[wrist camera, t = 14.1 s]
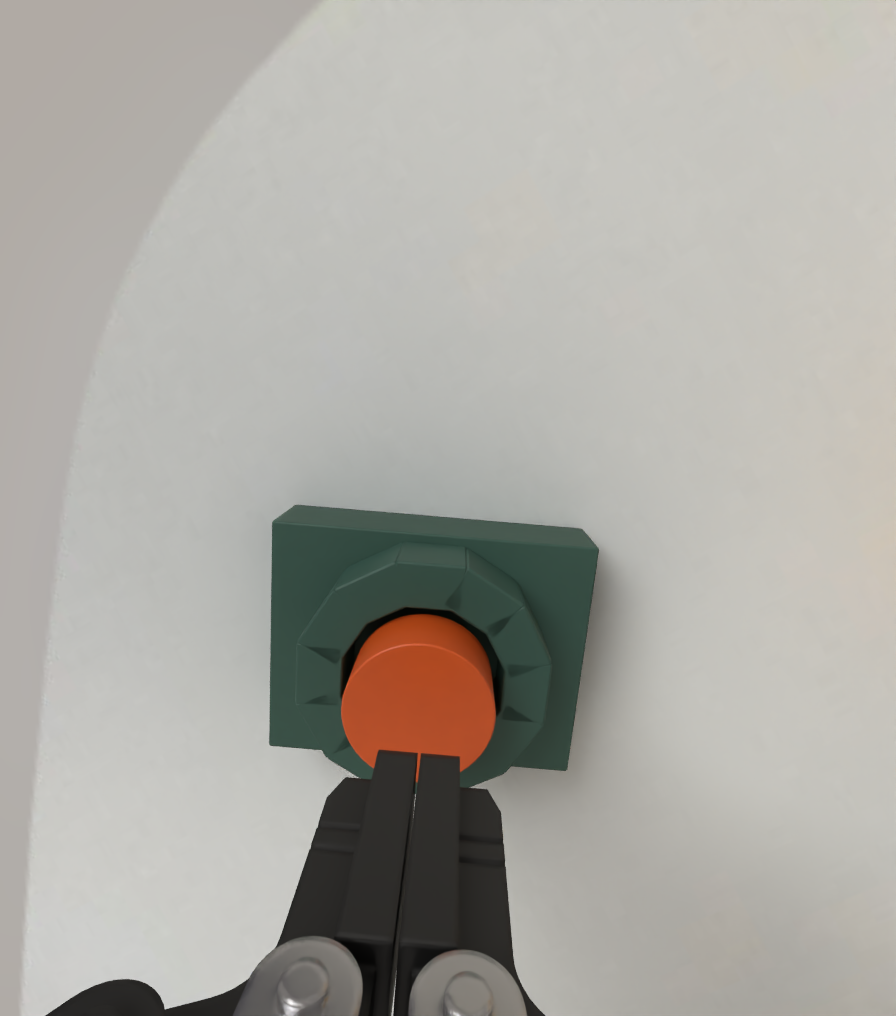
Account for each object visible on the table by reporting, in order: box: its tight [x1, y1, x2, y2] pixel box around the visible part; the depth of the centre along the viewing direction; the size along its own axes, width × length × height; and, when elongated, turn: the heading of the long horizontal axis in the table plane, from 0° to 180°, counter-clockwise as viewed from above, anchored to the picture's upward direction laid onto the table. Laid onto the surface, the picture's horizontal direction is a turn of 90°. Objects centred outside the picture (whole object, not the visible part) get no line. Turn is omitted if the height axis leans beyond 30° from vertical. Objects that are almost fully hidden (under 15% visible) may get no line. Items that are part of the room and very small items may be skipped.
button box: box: [269, 505, 599, 794], centre depth 16 cm, size 9×7×4 cm
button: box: [341, 614, 496, 782], centre depth 14 cm, size 4×4×2 cm
